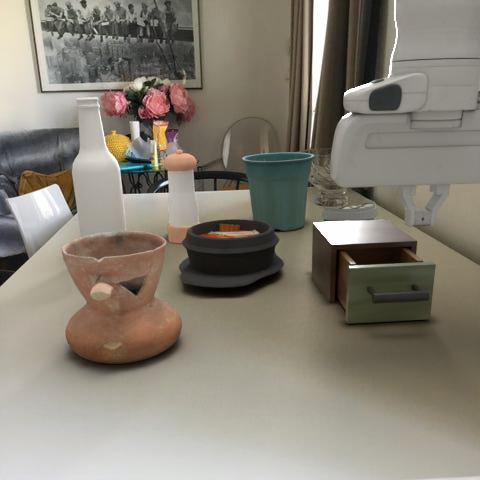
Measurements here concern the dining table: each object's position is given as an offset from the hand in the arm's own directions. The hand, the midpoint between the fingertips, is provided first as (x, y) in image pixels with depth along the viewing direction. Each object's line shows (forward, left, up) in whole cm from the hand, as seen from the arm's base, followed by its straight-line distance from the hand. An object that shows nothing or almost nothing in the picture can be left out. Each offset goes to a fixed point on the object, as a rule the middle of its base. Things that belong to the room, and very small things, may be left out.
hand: (419, 225), depth 63 cm
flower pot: (+7, -71, -16) cm, 73 cm away
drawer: (0, -13, -15) cm, 20 cm away
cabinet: (0, -24, -16) cm, 29 cm away
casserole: (+20, -35, -16) cm, 44 cm away
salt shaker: (+29, -62, -16) cm, 70 cm away
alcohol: (+44, -48, -16) cm, 67 cm away
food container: (-4, -42, -16) cm, 45 cm away
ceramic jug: (+35, -6, -16) cm, 39 cm away
